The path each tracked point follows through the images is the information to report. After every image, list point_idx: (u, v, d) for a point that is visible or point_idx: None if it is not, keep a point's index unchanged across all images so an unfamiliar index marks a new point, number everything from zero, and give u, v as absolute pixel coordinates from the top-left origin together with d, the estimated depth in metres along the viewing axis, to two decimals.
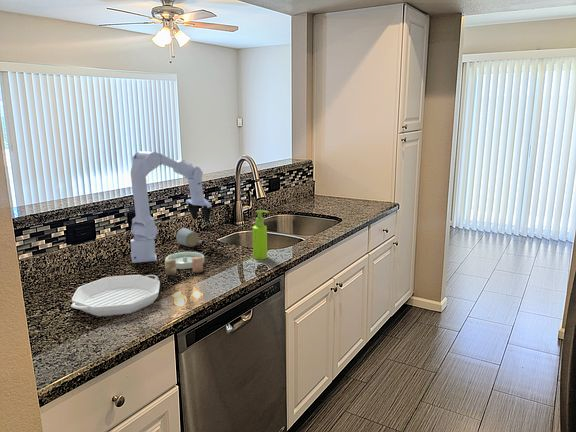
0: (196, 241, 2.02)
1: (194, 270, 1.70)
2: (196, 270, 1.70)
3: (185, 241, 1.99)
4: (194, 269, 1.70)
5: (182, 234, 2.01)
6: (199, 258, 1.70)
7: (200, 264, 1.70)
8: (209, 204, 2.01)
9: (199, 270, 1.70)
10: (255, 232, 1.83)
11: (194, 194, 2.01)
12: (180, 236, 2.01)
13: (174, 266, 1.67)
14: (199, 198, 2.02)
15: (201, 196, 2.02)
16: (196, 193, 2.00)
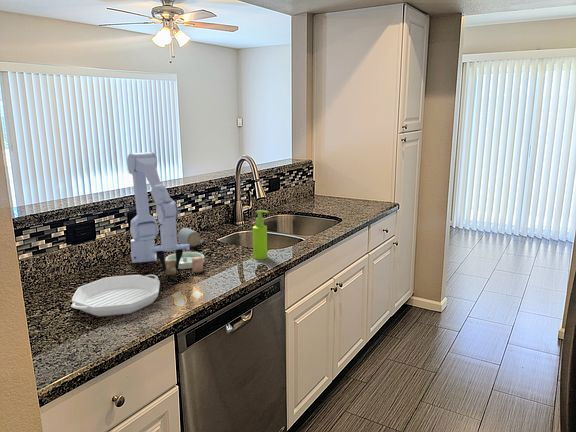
0: (197, 241, 2.03)
1: (194, 270, 1.70)
2: (196, 270, 1.70)
3: (187, 241, 2.00)
4: (194, 269, 1.70)
5: (183, 234, 2.01)
6: (199, 258, 1.70)
7: (200, 264, 1.70)
8: (149, 249, 1.65)
9: (199, 270, 1.70)
10: (255, 232, 1.83)
11: None
12: (182, 236, 2.02)
13: (174, 266, 1.67)
14: None
15: (161, 239, 1.65)
16: None
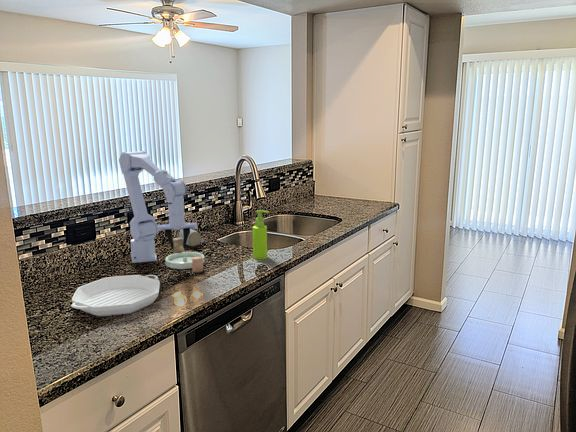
0: (198, 240, 2.03)
1: (194, 270, 1.70)
2: (196, 270, 1.70)
3: (187, 240, 2.00)
4: (194, 269, 1.70)
5: None
6: (199, 258, 1.70)
7: (200, 264, 1.70)
8: (157, 227, 1.68)
9: (199, 270, 1.70)
10: (255, 232, 1.83)
11: None
12: (182, 235, 2.02)
13: (182, 244, 1.71)
14: None
15: (169, 218, 1.69)
16: None
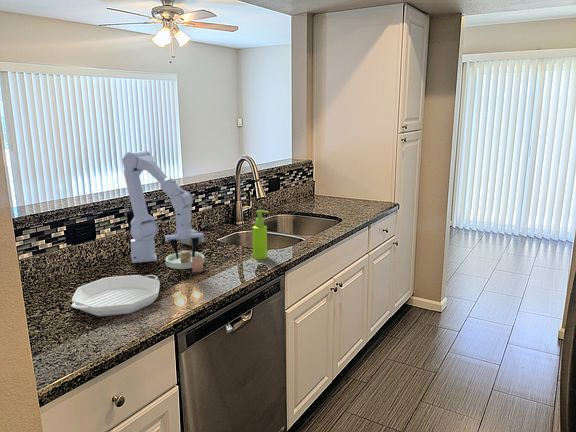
0: (199, 240, 2.04)
1: (194, 270, 1.70)
2: (196, 270, 1.70)
3: (188, 240, 2.00)
4: (194, 269, 1.70)
5: None
6: (199, 258, 1.70)
7: (200, 264, 1.70)
8: (165, 237, 1.73)
9: (199, 270, 1.70)
10: (255, 232, 1.83)
11: None
12: None
13: (189, 257, 1.76)
14: None
15: (176, 228, 1.73)
16: None
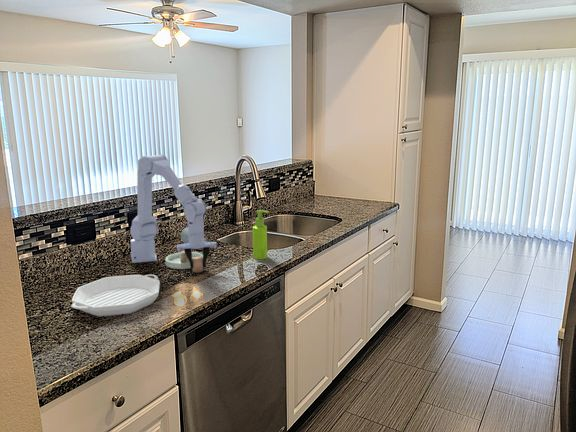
0: None
1: (194, 270, 1.70)
2: (196, 270, 1.70)
3: None
4: (194, 269, 1.70)
5: (186, 233, 2.02)
6: (199, 258, 1.70)
7: (200, 264, 1.70)
8: (177, 246, 1.68)
9: (199, 270, 1.70)
10: (255, 232, 1.83)
11: None
12: (184, 235, 2.03)
13: None
14: None
15: None
16: None
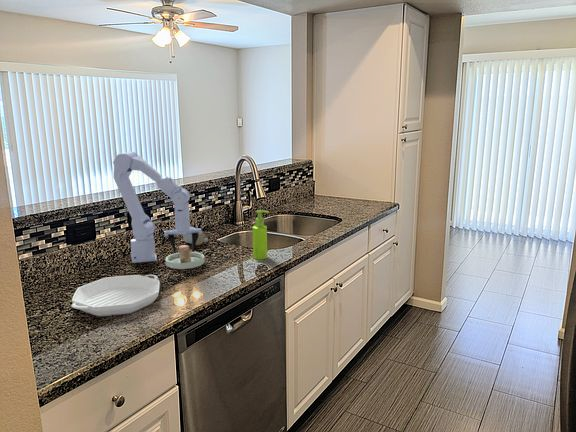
0: (202, 240, 2.05)
1: None
2: None
3: (191, 239, 2.02)
4: None
5: None
6: (185, 246, 1.83)
7: None
8: (164, 232, 1.80)
9: None
10: (255, 232, 1.83)
11: None
12: (186, 235, 2.04)
13: (189, 257, 1.76)
14: None
15: (175, 224, 1.80)
16: None
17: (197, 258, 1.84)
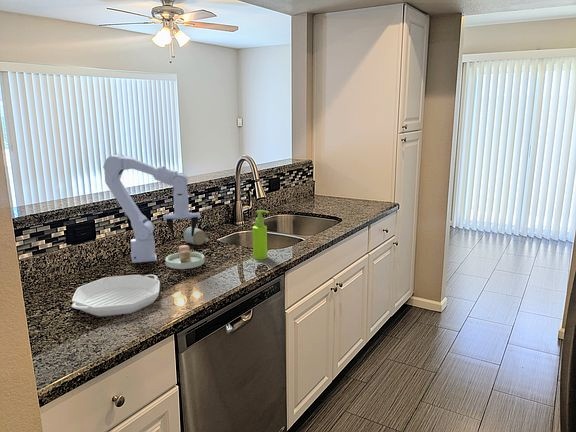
0: (203, 239, 2.05)
1: None
2: None
3: (192, 239, 2.02)
4: None
5: (189, 233, 2.04)
6: (185, 246, 1.83)
7: None
8: (163, 217, 1.81)
9: None
10: (255, 232, 1.83)
11: None
12: (187, 234, 2.04)
13: (189, 257, 1.76)
14: None
15: (174, 208, 1.81)
16: None
17: (197, 258, 1.84)
